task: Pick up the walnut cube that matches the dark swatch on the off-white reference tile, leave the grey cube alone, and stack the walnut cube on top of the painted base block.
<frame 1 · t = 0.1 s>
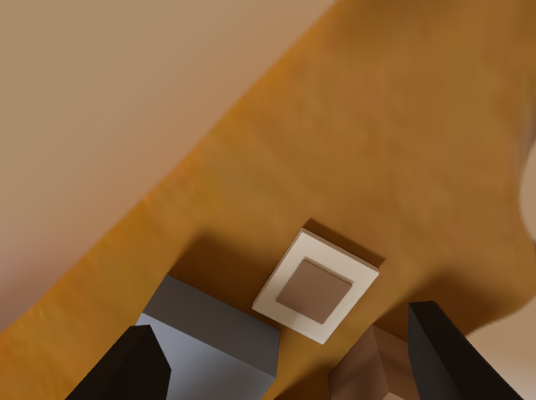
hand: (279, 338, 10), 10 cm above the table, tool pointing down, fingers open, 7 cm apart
reference tile: (312, 285, 22), on the table
base block: (199, 341, 24), on the table
walnut cube: (381, 366, 24), on the table
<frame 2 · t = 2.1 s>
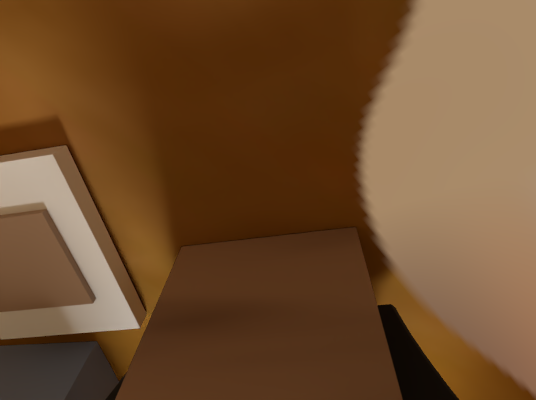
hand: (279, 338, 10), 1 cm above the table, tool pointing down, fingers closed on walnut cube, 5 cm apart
reference tile: (35, 250, 11), on the table
walnut cube: (280, 301, 11), on the table, touching gripper
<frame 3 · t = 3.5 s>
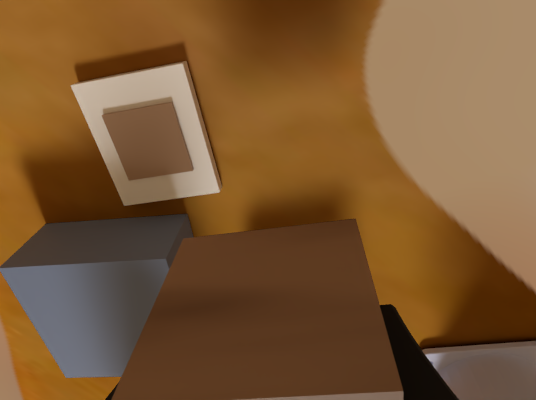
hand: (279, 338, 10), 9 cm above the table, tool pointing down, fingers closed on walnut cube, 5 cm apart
reference tile: (154, 137, 17), on the table
base block: (138, 272, 22), on the table
walnut cube: (280, 293, 12), point 7 cm above the table, touching gripper
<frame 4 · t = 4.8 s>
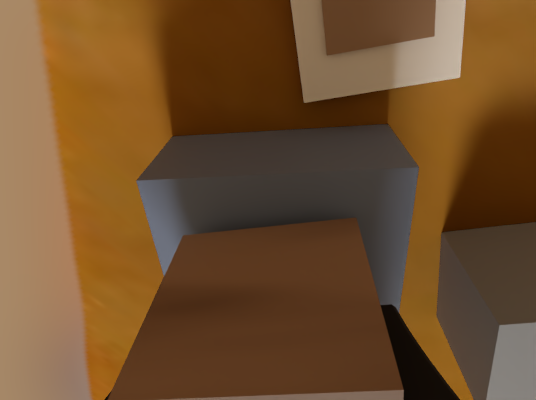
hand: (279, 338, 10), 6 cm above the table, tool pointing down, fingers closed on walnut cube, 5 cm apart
grey cube: (497, 270, 16), on the table
base block: (283, 217, 16), on the table
walnut cube: (279, 291, 12), point 4 cm above the table, touching gripper
when the fingers open (6 cm above the table, at t = 5.3 s): walnut cube stays where it is, point 4 cm above the table.
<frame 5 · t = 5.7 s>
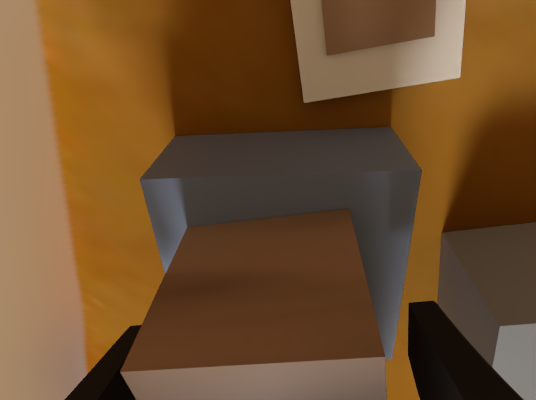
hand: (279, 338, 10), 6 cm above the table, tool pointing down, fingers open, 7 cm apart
grey cube: (497, 270, 16), on the table
base block: (284, 217, 16), on the table
walnut cube: (278, 280, 12), point 4 cm above the table
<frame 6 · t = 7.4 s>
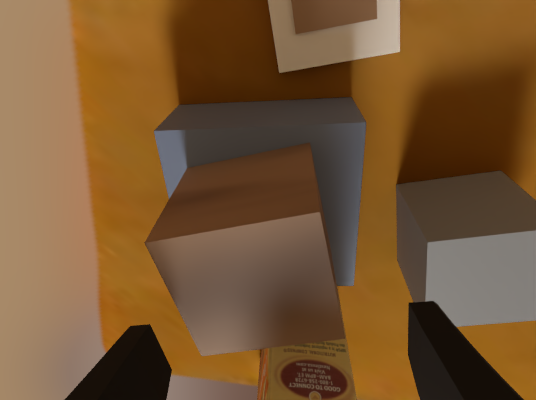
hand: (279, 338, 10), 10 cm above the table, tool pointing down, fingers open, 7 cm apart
candy box: (296, 321, 24), on the table
grey cube: (444, 218, 19), on the table
base block: (269, 175, 19), on the table, touching walnut cube
walnut cube: (262, 208, 15), point 4 cm above the table, touching base block
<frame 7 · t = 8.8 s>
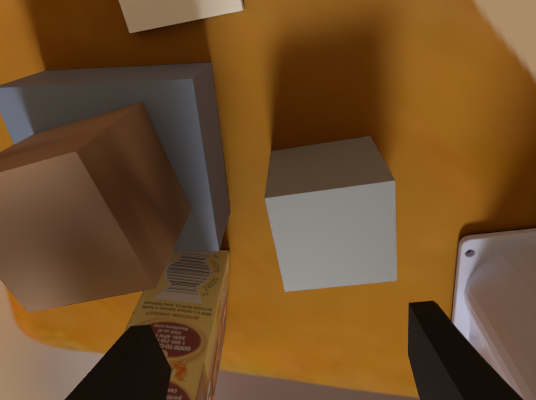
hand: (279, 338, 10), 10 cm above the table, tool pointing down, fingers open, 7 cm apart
candy box: (200, 295, 24), on the table
grey cube: (325, 186, 20), on the table
base block: (148, 144, 19), on the table
walnut cube: (115, 173, 16), point 4 cm above the table
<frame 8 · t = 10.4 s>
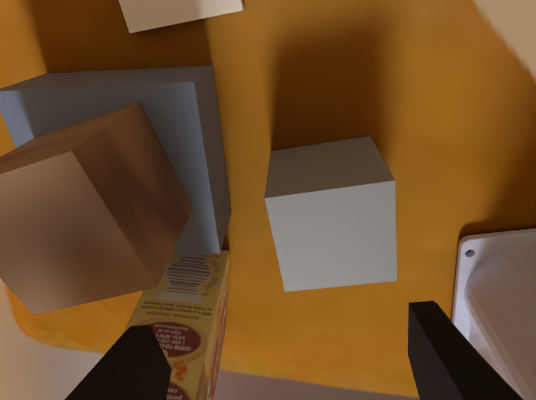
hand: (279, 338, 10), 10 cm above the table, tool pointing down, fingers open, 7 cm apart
candy box: (200, 295, 24), on the table
grey cube: (325, 186, 20), on the table
base block: (149, 147, 19), on the table, touching walnut cube
walnut cube: (116, 174, 16), point 4 cm above the table, touching base block
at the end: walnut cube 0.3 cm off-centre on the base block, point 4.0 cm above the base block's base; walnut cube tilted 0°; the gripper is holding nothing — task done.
